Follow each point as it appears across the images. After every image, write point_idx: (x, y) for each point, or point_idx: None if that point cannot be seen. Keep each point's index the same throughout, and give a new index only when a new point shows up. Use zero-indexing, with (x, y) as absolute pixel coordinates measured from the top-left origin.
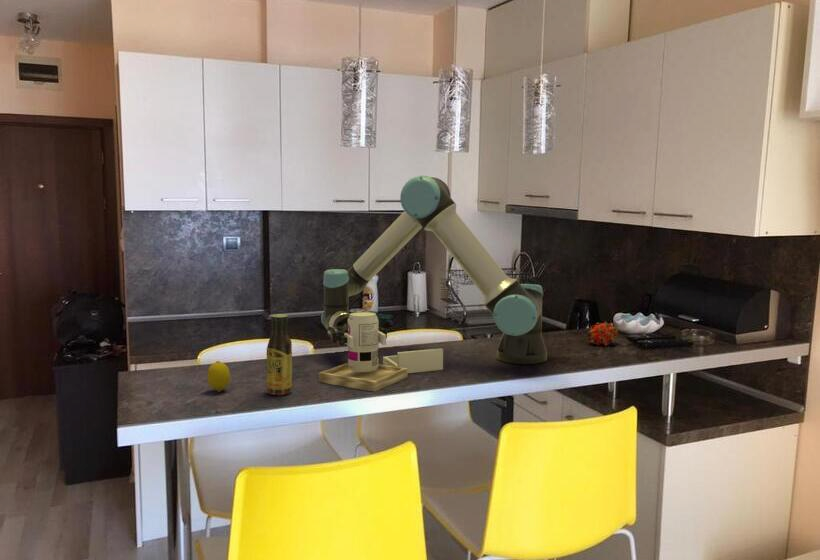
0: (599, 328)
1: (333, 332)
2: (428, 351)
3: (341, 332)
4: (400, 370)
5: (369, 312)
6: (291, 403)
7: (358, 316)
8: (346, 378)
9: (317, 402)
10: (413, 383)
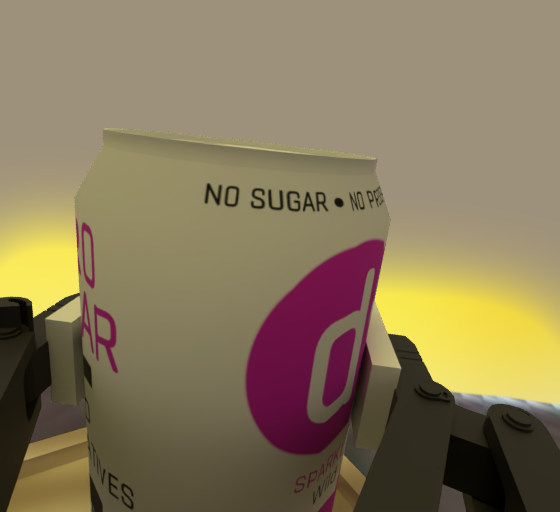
0: None
1: (542, 461)
2: None
3: (427, 422)
4: (46, 445)
5: (113, 134)
6: (555, 430)
7: (320, 151)
8: (355, 473)
9: (465, 404)
10: (71, 415)
